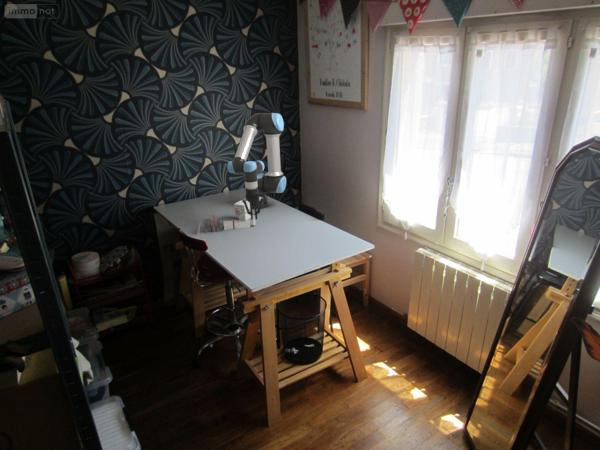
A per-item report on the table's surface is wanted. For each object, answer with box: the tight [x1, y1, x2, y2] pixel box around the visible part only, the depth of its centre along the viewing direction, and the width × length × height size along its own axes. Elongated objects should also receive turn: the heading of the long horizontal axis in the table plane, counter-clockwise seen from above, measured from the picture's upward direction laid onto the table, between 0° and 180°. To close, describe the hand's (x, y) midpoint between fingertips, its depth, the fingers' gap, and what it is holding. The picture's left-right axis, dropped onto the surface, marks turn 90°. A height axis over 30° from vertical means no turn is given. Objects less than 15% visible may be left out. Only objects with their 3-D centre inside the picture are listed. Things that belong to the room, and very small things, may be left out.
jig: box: [204, 214, 224, 233], centre depth 255 cm, size 32×9×9 cm, turn 99°
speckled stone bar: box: [223, 218, 251, 231], centre depth 256 cm, size 16×4×4 cm, turn 99°
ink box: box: [233, 199, 251, 220], centre depth 271 cm, size 9×9×12 cm
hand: (254, 224), depth 258 cm, fingers closed
